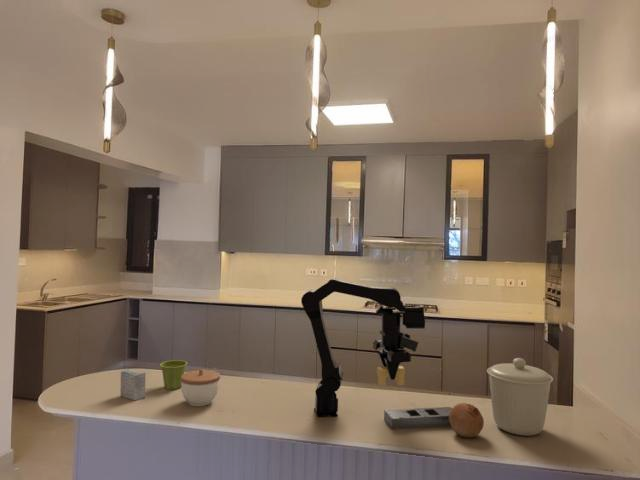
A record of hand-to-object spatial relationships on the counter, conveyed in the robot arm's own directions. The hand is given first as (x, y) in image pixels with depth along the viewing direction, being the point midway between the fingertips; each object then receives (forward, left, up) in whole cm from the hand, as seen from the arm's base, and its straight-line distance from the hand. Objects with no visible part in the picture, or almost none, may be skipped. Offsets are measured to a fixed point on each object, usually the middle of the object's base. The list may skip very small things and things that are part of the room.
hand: (390, 377), depth 139 cm
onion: (+18, -15, -13) cm, 26 cm away
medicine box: (-82, +28, -13) cm, 88 cm away
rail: (+9, -5, -12) cm, 16 cm away
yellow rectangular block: (0, 0, -2) cm, 2 cm away
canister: (+36, -13, -13) cm, 40 cm away
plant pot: (-70, +37, -13) cm, 81 cm away
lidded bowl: (-59, +20, -13) cm, 64 cm away
